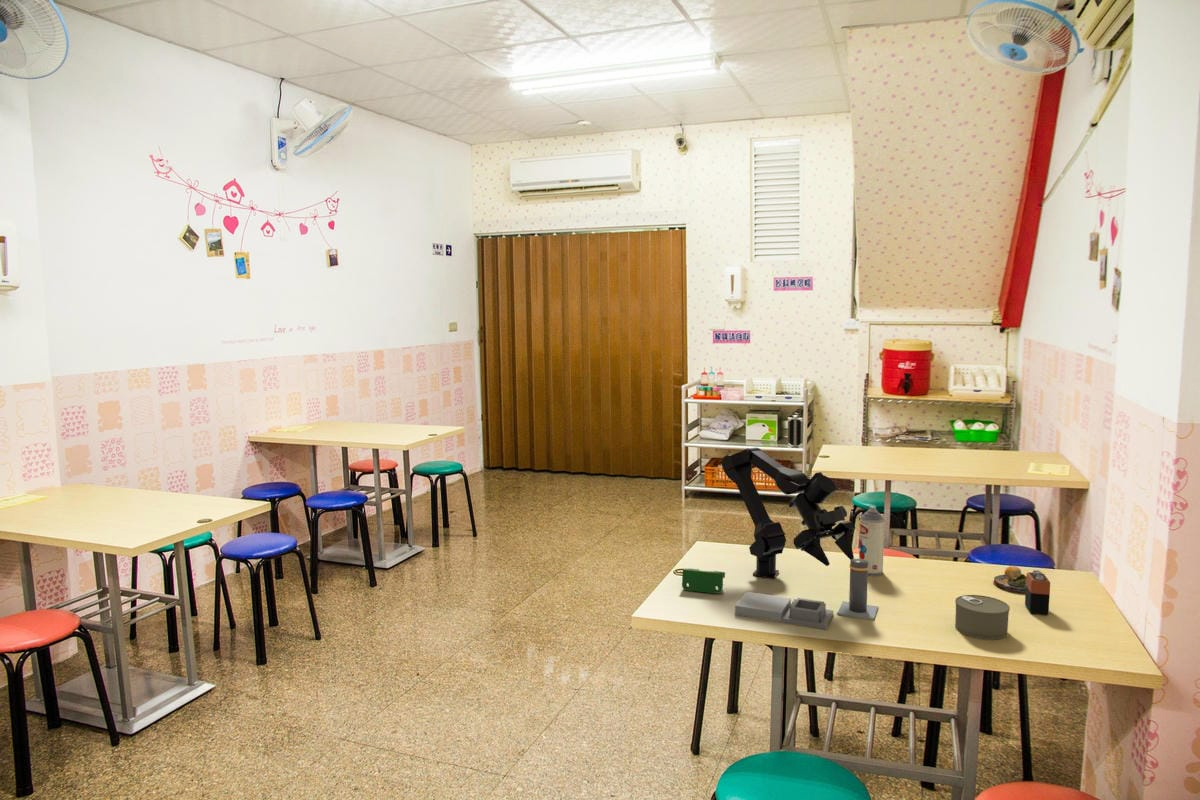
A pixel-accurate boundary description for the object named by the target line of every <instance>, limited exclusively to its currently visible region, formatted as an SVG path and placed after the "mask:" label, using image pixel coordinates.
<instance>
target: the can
mask: <svg viewBox="0 0 1200 800" xmlns="http://www.w3.org/2000/svg"><path fill="white" fill-rule="evenodd" d="M954 602H955V616H954V617H955V622H954V626H955V627H954V628H955V630H956V631H958V632H959V633H960V634H961V635H964V636H967V637H970V638H973V639H978V640H983V641H985V640H986V641H998V640H1002V639H1005V638H1007V636H1008V629H1009V615H1010V613H1009V612H1010V610H1011V609H1010V608H1011V607H1010V605H1009V604H1008V603H1007V602H1004V601H1003V600H1001V599H998V598H995V597H991V596H986V595H978V594H965V595H961V596H958V597H956V598H955V600H954Z"/></svg>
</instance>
